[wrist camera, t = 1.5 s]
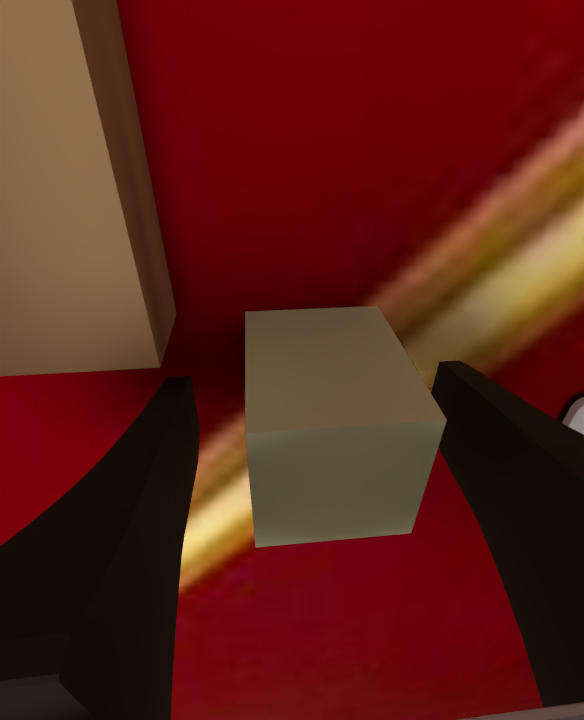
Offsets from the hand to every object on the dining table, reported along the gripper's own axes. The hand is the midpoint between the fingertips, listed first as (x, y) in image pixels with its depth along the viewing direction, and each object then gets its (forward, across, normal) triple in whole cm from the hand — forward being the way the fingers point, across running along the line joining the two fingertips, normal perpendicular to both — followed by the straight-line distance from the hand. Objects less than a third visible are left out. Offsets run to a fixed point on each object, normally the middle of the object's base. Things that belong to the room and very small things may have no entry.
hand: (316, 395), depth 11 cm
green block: (+2, 0, 0) cm, 2 cm away
